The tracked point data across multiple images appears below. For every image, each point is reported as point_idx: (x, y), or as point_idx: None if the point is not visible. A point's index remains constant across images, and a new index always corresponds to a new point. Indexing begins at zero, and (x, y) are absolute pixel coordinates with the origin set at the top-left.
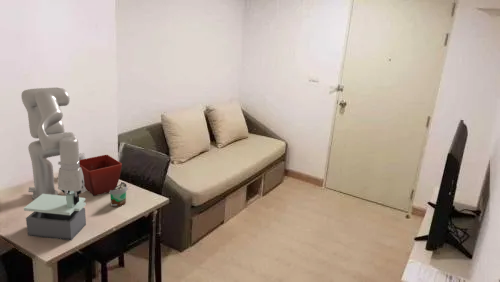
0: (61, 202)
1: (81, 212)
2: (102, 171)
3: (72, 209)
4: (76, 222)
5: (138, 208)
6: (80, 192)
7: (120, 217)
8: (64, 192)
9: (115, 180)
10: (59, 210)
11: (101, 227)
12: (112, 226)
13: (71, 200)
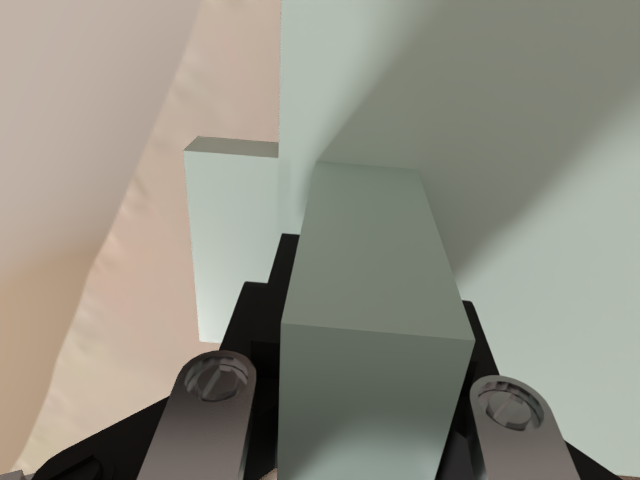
0: (565, 315)
1: None
2: None
3: (289, 105)
4: None
5: (80, 434)
6: (44, 478)
7: (125, 341)
8: (581, 475)
9: None
10: (531, 22)
11: (180, 212)
12: (110, 233)
13: (311, 235)
